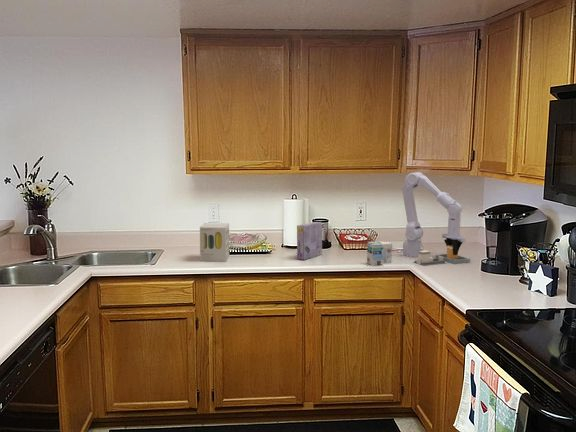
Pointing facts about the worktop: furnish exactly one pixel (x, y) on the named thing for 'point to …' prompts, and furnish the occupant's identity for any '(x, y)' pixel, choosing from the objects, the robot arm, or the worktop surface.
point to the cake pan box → (309, 240)
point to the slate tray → (459, 261)
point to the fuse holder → (431, 261)
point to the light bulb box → (379, 253)
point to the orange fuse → (451, 252)
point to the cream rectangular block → (424, 256)
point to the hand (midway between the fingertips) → (452, 254)
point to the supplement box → (214, 242)
